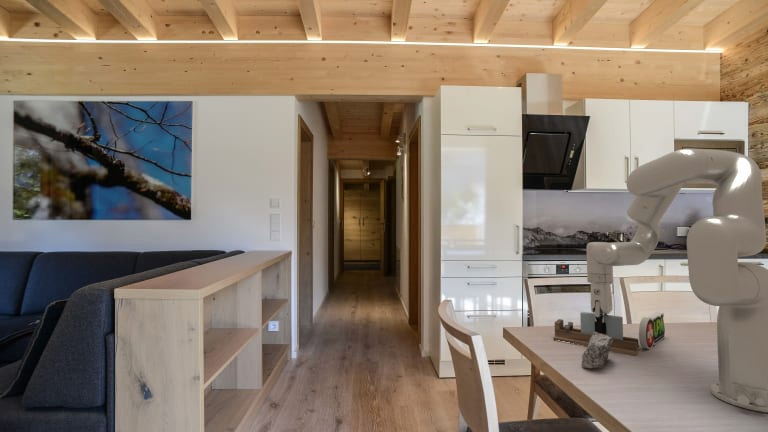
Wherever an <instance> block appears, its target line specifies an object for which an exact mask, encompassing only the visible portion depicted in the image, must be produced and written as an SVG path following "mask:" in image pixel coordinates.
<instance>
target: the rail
mask: <svg viewBox="0 0 768 432" xmlns="http://www.w3.org/2000/svg"><path fill="white" fill-rule="evenodd" d="M564 323H565V322H564V319H560V318H559V319H557V320H555V321H554V336H553V339H554V340H553V341H555V340H560V341H565V342H570V343H569V344H571V343H574V344H573V345H576V344H579V345H578V346H581V345H584V346H583V347H586V346H588V344H589V340H590V338H591V337H592V335H590V334H584V333H581V328H574V322H571V321H568V322H567V324H564ZM560 341H559V342H560ZM565 342H564V343H565ZM639 350H640V344H639V338H634V337H628V336H624V335H623V340H619V339H614V338H613V341H612V343H611V346H610V349H609V352H612V351H613V353H619V354H624V355H629V356H635V357H636V356H637V354H638V352H639Z"/></svg>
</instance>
